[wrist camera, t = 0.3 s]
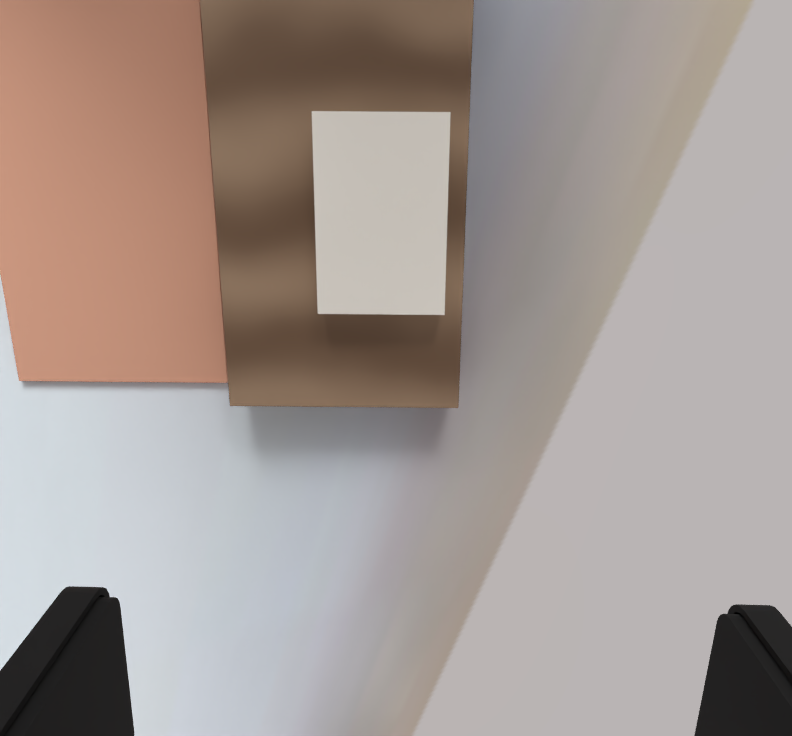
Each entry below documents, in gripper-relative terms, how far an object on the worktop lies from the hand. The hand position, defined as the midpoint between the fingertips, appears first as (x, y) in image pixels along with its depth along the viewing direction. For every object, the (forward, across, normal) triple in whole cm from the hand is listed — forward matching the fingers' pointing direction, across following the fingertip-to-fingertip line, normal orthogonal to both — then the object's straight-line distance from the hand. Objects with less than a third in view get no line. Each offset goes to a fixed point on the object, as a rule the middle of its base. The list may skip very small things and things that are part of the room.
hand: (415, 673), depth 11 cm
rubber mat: (+29, +16, -5) cm, 34 cm away
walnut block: (+29, +3, -5) cm, 30 cm away
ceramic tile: (+25, +1, -5) cm, 26 cm away
